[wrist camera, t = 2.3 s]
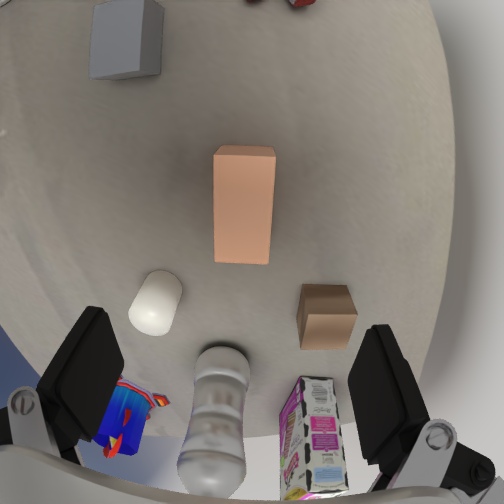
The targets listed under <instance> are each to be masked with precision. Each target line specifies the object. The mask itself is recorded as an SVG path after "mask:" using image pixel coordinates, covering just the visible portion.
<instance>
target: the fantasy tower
mask: <svg viewBox="0 0 504 504" xmlns="http://www.w3.org/2000/svg"><path fill="white" fill-rule="evenodd" d="M122 379H123V376H122V375H120V378H119V380H118V382H117V385H116V387H115V390H114V392H113V395H112V397H111V400H110V402H109V405H108V407H107V410H106V412H105V415H104V417H103V420H102V423H101V425H100V428H99V431H98V433H97V435H96V436H95V437H92V439H93V440H94V441H95V442H96V443H98V444H99V445H101V446H103V447H104V449H103V452H104V456H105V457H106V458H107V457H108V455H109V458H110V457H114V456H115V454H116V453H120V454H126V455H130V456H131V455H134V454H135V453H137V452H138V448H139V444H140V440H141V436H142V432H143V429H144V425H145V421H146V420H148V419H150V414H149V413H148V412H150V411H151V410H152V409H154V408H155V407H156V406H157V405H158V406H161V407H162V406H165V405H168V404H170V402H169V400H168V398H167V397H166V396H165V395H161V394H157V393H152V394H153V397H152V395H151V394H150V392H149V391H147V390H145V389H143V388H141V387H139V386H137V385H135V384H133V383H131V382H129V381H128V380H122ZM110 450H111V451H110ZM109 451H110V454H109Z"/></svg>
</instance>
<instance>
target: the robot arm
mask: <svg viewBox="0 0 504 504" xmlns="http://www.w3.org/2000/svg"><path fill="white" fill-rule="evenodd" d="M8 1H10V0H0V7H1V6H2V5H4V4H6V3H7V2H8ZM123 368H124V359H123V356H122V354H121V351H120V348H119V345H118V343H117V340H116V337H115V334H114V331H113V328H112V325H111V322H110V319H109V316H108V313H107V312H105V311H104V309H103V308H101V307H94V306H87V307H86V309H85V310H84V312H83V313H82V314H81V316H80V317H79V319H78V320H77V322H76V323H75V325H74V326H73V328H72V329H71V331H70V332H69V334H68V335H67V337H66V338H65V340H64V341H63V343H62V345H61V346H60V348H59V349H58V351H57V353H56V354H55V356H54V357H53V359H52V361H51V362H50V364H49V366H48V367H47V369H46V371H45V372H44V374H43V376H42V377H41V379H40V381H39V383H38V384H37V388H36V390H34V389H33V388H31V387H27V386H24V387H20V388H18V389H16V390H15V391H13V392H12V394H11V395H10V397H9V399H8V406H7V407H4V408H2V409H0V504H504V481H503V480H502V478H501V477H500V476H498V477H497V478H496V477H495V467H494V464H493V462H492V461H491V460H490V459H489V458H487V457H486V456H484V455H482V454H480V453H478V452H476V451H474V450H472V449H470V448H468V447H466V446H464V445H462V444H461V443H459V442H457V433H456V431H455V428H454V427H453V426H452V425H451V423H449V422H447V421H446V420H443V419H433V420H430V418H429V415H428V412H427V409H426V406H425V404H424V401H423V398H422V396H421V393H420V390H419V388H418V385H417V383H416V380H415V378H414V375H413V373H412V370H411V368H410V365H409V363H408V361H407V360H406V359H405V358H404V357H403V355H402V353H401V350H400V348H399V346H398V343H397V341H396V339H395V337H394V334H393V332H392V330H391V328H390V326H389V325H388V324H383V325H373V326H372V327H371V329H367V331H366V333H365V336H364V339H363V341H362V344H361V346H360V349H359V351H358V354H357V356H356V359H355V361H354V364H353V366H352V368H351V371H350V373H349V376H348V386H349V391H350V396H351V400H352V405H353V410H354V415H355V419H356V424H357V430H358V434H359V440H360V445H361V451H362V456H363V458H364V459H367V462H368V465H373V464H379V469H380V473H379V475H378V476H377V478H376V479H375V481H374V482H373V484H372V485H371V487H370V489H369V490H368V492H367V493H362V494H355V495H348V496H340V497H330V498H320V499H307V500H282V501H263V500H238V499H225V498H215V497H206V496H198V495H192V494H185V493H179V492H173V491H168V490H163V489H159V488H154V487H149V486H145V485H141V484H137V483H133V482H130V481H126V480H122V479H119V478H116V477H113V476H109V475H106V474H103V473H100V472H97V471H94V470H91V469H89V468H86V466H85V463H84V461H83V459H82V456H81V454H80V451H79V448H78V446H77V443H78V440H79V439H82V440H85V441H87V442H91V440H92V437H95V436H96V435H97V433H98V431H99V428H100V425H101V423H102V420H103V417H104V415H105V412H106V410H107V407H108V405H109V402H110V400H111V397H112V395H113V392H114V390H115V387H116V385H117V382H118V380H119V378H120V375H121V373H122V371H123Z"/></svg>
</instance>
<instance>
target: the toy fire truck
mask: <svg viewBox="0 0 504 504" xmlns="http://www.w3.org/2000/svg"><path fill="white" fill-rule="evenodd" d="M247 1H252V0H247ZM315 1H316V0H289V2H290V3H291V4H292V5H293V6H295V7H299V6H304V5H310V4H313V3H314V2H315Z"/></svg>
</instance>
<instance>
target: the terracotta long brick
mask: <svg viewBox="0 0 504 504" xmlns="http://www.w3.org/2000/svg"><path fill="white" fill-rule="evenodd" d="M275 165H276V156H275V152H274V149H273V147H265V146H243V145H221V146H220V148H219V149H218V150H217V151H216V153H215V154H214V253H215V262H226V263H247V264H268V261H269V249H270V236H271V222H272V209H273V195H274V180H275Z"/></svg>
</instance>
